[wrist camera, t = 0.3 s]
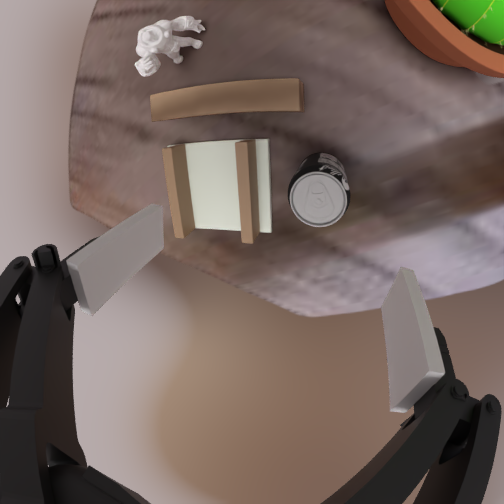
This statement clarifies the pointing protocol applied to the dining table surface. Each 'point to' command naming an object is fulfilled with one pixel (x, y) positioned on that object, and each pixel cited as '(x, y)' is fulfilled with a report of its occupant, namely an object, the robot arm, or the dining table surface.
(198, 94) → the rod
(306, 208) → the beverage can
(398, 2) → the potted cactus
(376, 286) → the dining table surface
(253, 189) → the rest stand
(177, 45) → the figurine
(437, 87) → the dining table surface
